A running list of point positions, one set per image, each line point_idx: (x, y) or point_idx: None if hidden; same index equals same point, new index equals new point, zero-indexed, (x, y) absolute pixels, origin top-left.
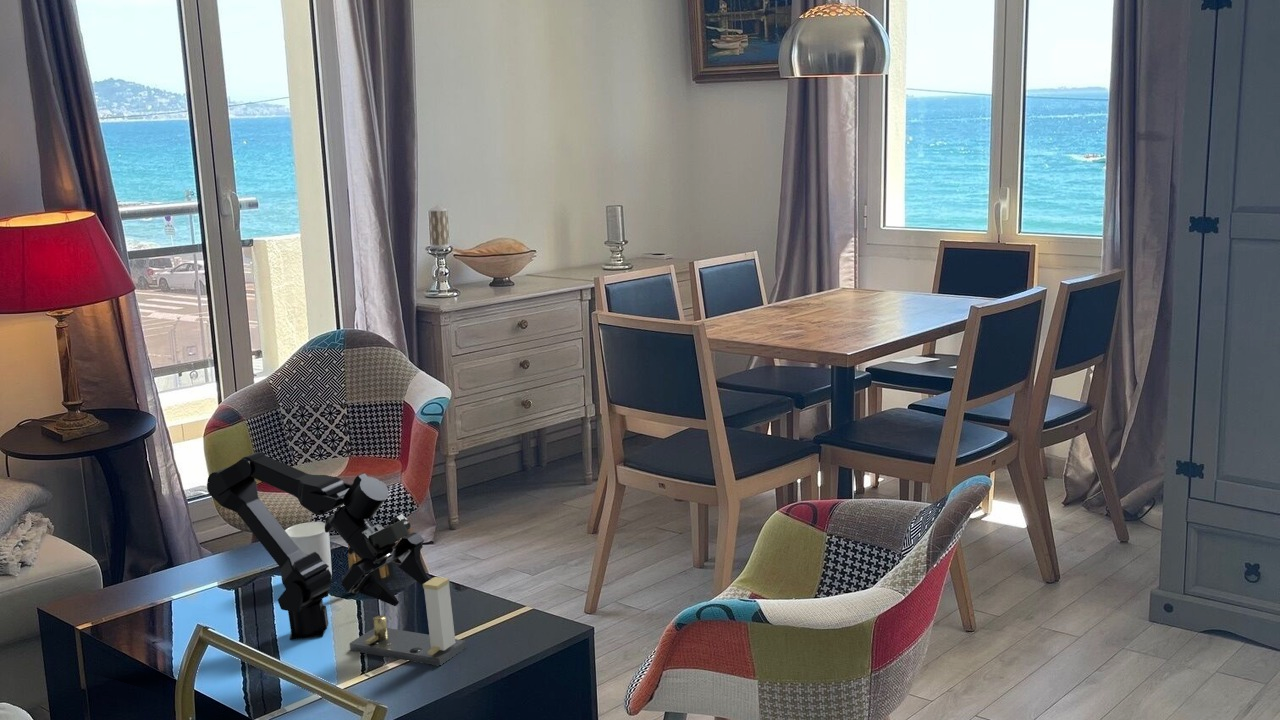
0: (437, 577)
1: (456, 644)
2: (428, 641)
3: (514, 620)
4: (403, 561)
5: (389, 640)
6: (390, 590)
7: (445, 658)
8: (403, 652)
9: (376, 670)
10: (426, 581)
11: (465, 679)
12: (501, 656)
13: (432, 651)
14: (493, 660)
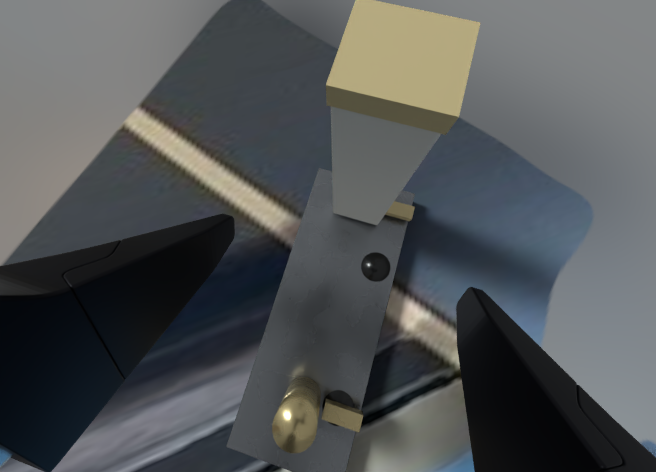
0: (339, 65)
1: None
2: (324, 252)
3: (186, 120)
4: (11, 443)
5: (321, 363)
6: (512, 346)
7: None
8: (389, 294)
9: (443, 344)
10: (223, 222)
11: (458, 132)
12: None
13: (411, 206)
14: None
